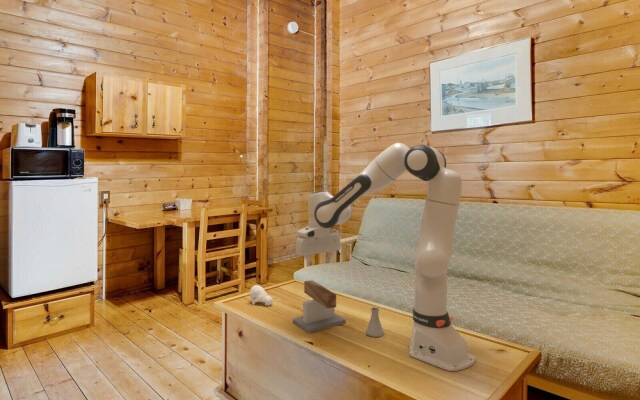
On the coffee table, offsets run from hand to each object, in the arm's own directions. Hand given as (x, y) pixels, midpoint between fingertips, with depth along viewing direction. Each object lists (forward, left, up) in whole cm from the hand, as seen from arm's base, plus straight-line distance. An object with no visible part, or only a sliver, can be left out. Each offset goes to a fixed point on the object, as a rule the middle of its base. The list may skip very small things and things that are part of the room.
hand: (319, 263), depth 158 cm
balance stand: (0, 0, -25) cm, 25 cm away
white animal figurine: (+34, +10, -25) cm, 43 cm away
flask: (-21, -12, -25) cm, 35 cm away
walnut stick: (0, 0, -15) cm, 15 cm away
